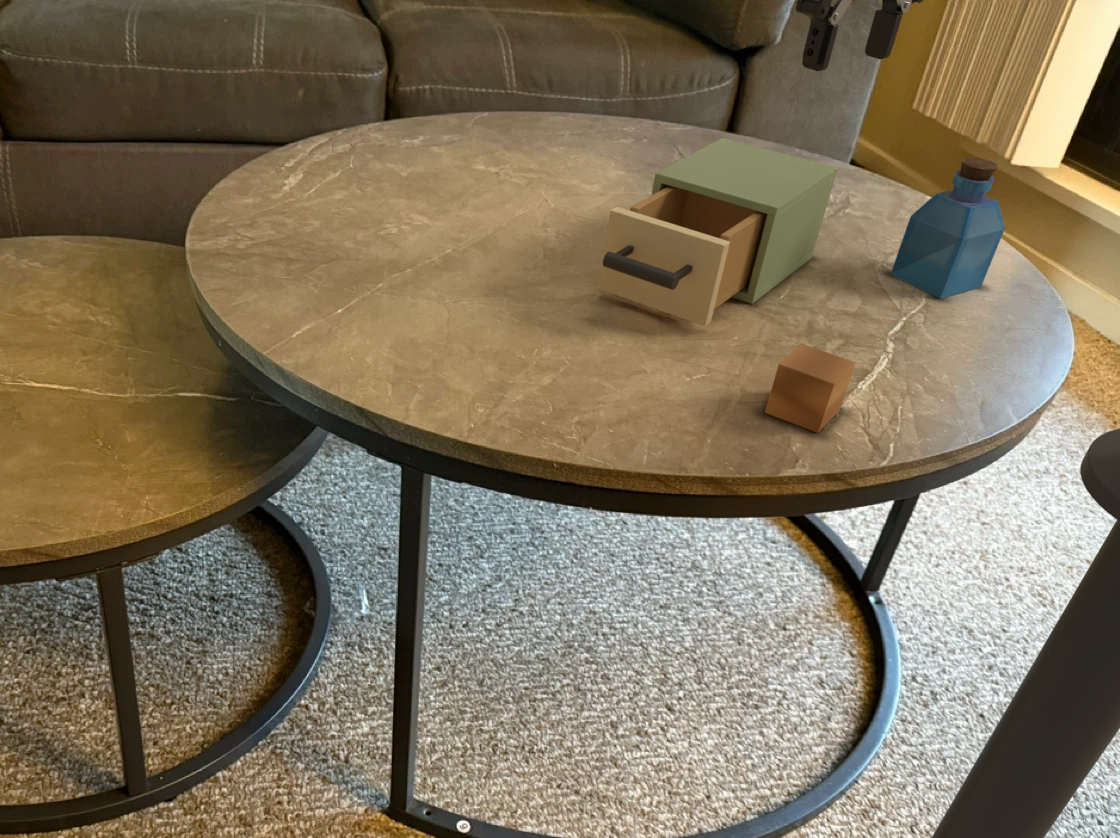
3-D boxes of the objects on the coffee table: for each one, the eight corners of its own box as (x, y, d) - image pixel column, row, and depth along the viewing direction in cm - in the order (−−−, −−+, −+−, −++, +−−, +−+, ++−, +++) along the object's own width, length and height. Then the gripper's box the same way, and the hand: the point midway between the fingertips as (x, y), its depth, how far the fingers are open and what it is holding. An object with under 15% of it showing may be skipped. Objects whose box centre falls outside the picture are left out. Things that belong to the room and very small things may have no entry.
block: (839, 411, 88) (856, 362, 85) (817, 433, 85) (834, 383, 82) (787, 391, 90) (801, 343, 87) (764, 412, 87) (778, 363, 84)
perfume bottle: (940, 298, 105) (986, 179, 97) (890, 274, 109) (931, 157, 101) (981, 286, 107) (1029, 169, 100) (930, 263, 111) (973, 148, 104)
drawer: (683, 343, 94) (702, 260, 89) (574, 303, 99) (586, 223, 94) (767, 279, 105) (788, 203, 100) (664, 246, 110) (679, 172, 105)
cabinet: (752, 304, 102) (777, 208, 96) (637, 265, 108) (655, 173, 102) (811, 258, 111) (838, 167, 105) (703, 225, 117) (722, 137, 111)
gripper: (889, -147, 78) (827, 84, 88) (1001, -154, 84) (931, 63, 94) (807, -158, 82) (757, 62, 93) (919, -164, 89) (861, 43, 99)
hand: (845, 62), depth 93 cm, fingers open, 8 cm apart
